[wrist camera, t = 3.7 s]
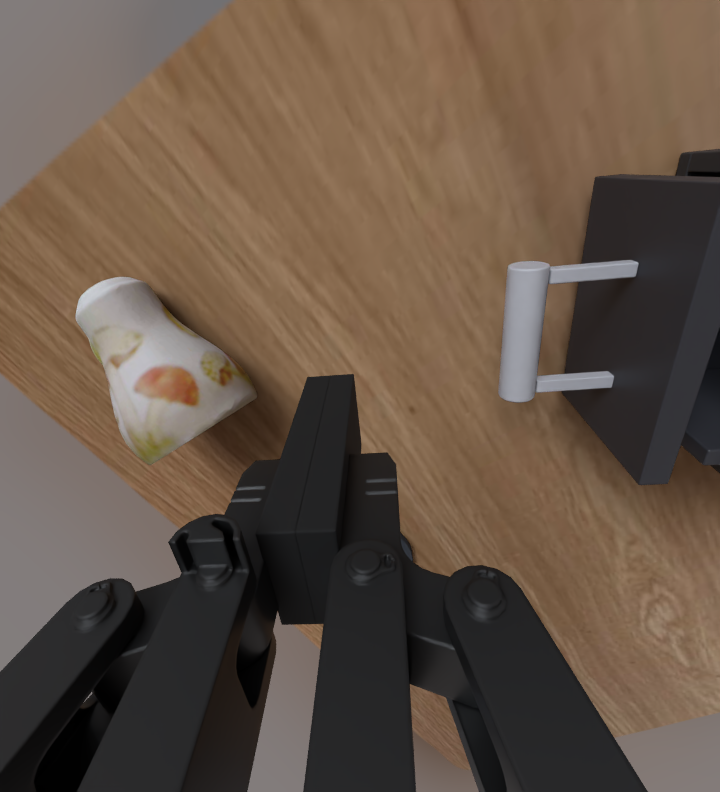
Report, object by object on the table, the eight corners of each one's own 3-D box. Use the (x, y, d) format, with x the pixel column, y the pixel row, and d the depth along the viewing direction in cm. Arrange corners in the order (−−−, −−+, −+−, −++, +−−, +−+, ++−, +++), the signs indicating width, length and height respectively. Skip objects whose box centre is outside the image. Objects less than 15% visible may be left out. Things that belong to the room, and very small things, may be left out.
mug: (146, 226, 22) (165, 334, 16) (250, 340, 30) (292, 444, 23) (31, 304, 22) (5, 441, 16) (163, 397, 30) (181, 516, 24)
